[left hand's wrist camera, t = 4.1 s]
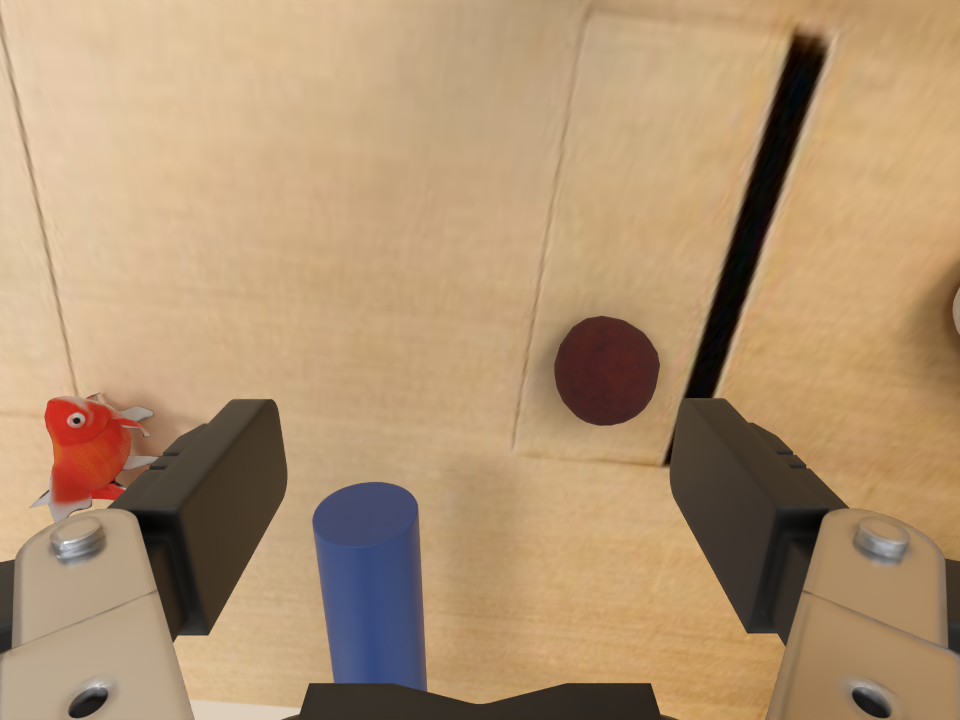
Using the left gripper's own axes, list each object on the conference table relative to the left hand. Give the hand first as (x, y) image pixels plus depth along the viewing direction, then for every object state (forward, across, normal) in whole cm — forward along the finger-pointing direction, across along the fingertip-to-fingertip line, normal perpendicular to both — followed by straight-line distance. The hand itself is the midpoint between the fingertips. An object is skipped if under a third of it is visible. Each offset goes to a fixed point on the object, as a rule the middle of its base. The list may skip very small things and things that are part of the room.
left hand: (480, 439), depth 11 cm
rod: (+18, -6, -26) cm, 33 cm away
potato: (+30, +9, -10) cm, 33 cm away
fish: (+30, -28, -19) cm, 45 cm away
